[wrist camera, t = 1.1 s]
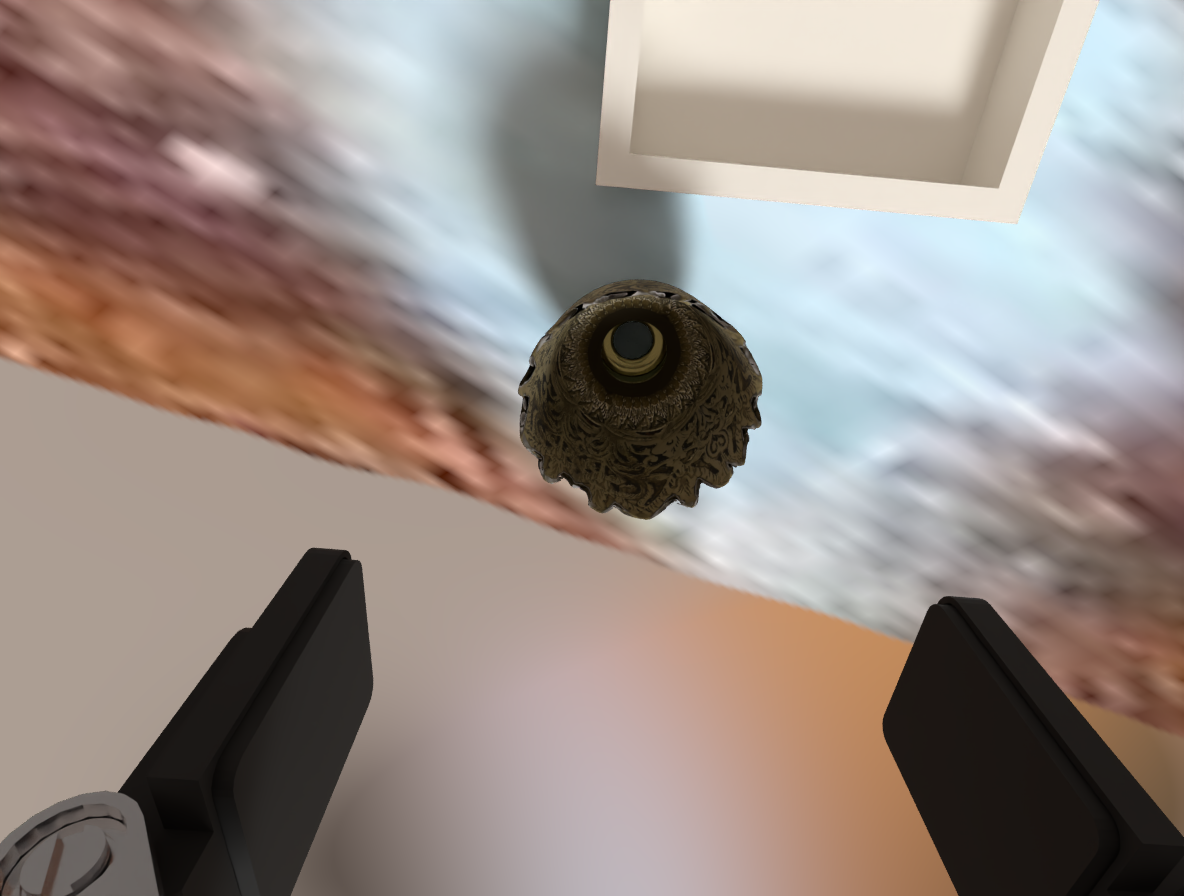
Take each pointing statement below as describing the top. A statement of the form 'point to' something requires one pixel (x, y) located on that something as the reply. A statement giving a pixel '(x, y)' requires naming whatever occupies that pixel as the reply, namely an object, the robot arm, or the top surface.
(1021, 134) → the tray
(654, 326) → the ornate bronze bell
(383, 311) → the top surface
